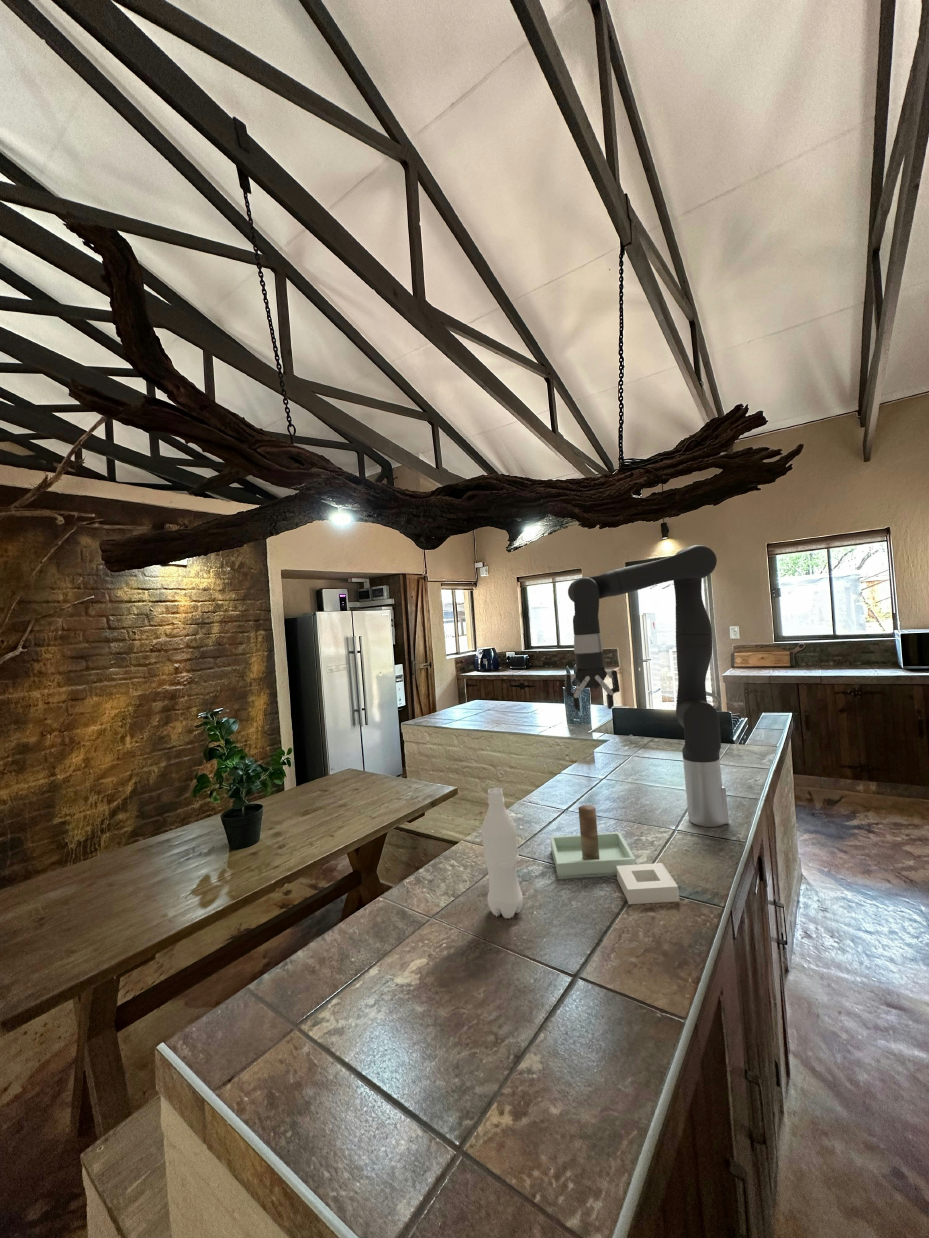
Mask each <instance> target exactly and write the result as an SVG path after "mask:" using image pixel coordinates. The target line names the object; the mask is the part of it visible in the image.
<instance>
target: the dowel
mask: <svg viewBox="0 0 929 1238" xmlns="http://www.w3.org/2000/svg"><path fill="white" fill-rule="evenodd" d="M578 820H579V821H578V822H579V829H580V831H579V832H580V834H579V835H581V846H582V858H583V860H598V859H600V858H599V846H598V825H597V821H598V820H597V811H596V806H594V805H591V804H586V805H585V804H584V805H580V806H578Z"/></svg>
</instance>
